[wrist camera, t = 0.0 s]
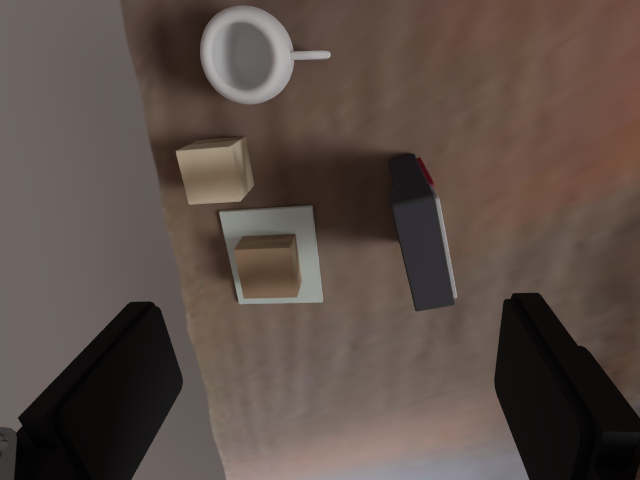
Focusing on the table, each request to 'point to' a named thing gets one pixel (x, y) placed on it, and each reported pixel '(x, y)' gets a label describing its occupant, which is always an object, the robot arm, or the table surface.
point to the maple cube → (216, 170)
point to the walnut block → (268, 266)
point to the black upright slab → (421, 234)
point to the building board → (275, 224)
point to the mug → (249, 54)
